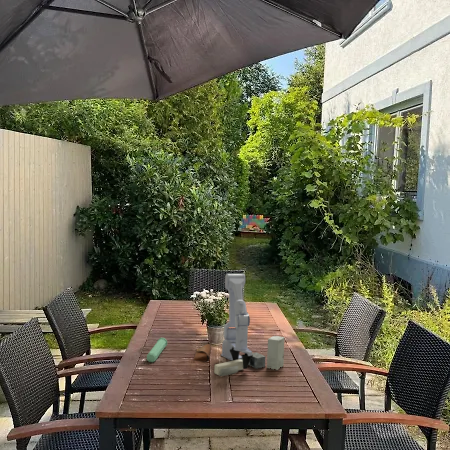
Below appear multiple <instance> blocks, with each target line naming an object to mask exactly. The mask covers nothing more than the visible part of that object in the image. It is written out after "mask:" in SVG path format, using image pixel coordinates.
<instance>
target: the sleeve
mask: <svg viewBox="0 0 450 450" xmlns="http://www.w3.org/2000/svg"><path fill="white" fill-rule="evenodd" d="M237 373H239V370H238V365H235V366H231V367H227V368H222V369H220V375H218V376H219V377H221V376H222V377H224V376H230V375H233V374H237Z"/></svg>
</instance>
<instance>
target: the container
mask: <svg viewBox="0 0 450 450" xmlns="http://www.w3.org/2000/svg"><path fill="white" fill-rule="evenodd" d="M167 346H168V340H167V339H166V338H165V337H160V338H159V339H157V340H156V343H155V344H154V346H153V347H152V348H151V349H150V351H149V352H148V353H147V355H146V360H147V361H148V362H149V363H154V362H155V361H157V359H158V357H160V355H161V353H162V352H163V351H164V349H165V348H166V347H167Z"/></svg>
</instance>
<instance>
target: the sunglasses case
mask: <svg viewBox="0 0 450 450" xmlns="http://www.w3.org/2000/svg"><path fill="white" fill-rule="evenodd" d="M211 350H212V347H211V345H210V344H209V343H207V344H205V345H203V346H202V347H198V348H196V349H195V354H194V356H193V359H192V360H193V361H197V362H198V361H200V362H209V361H210V357H211Z"/></svg>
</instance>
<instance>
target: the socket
mask: <svg viewBox="0 0 450 450" xmlns="http://www.w3.org/2000/svg"><path fill="white" fill-rule="evenodd" d="M252 355H253V356H252V358H251V359H250V362H249V364H248V367H249V366H250V367H251V366H252V368H254V369H256V370H258V368H259V369H262V367H263V368H266V355H263V354H262V353H258V352H252Z"/></svg>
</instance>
